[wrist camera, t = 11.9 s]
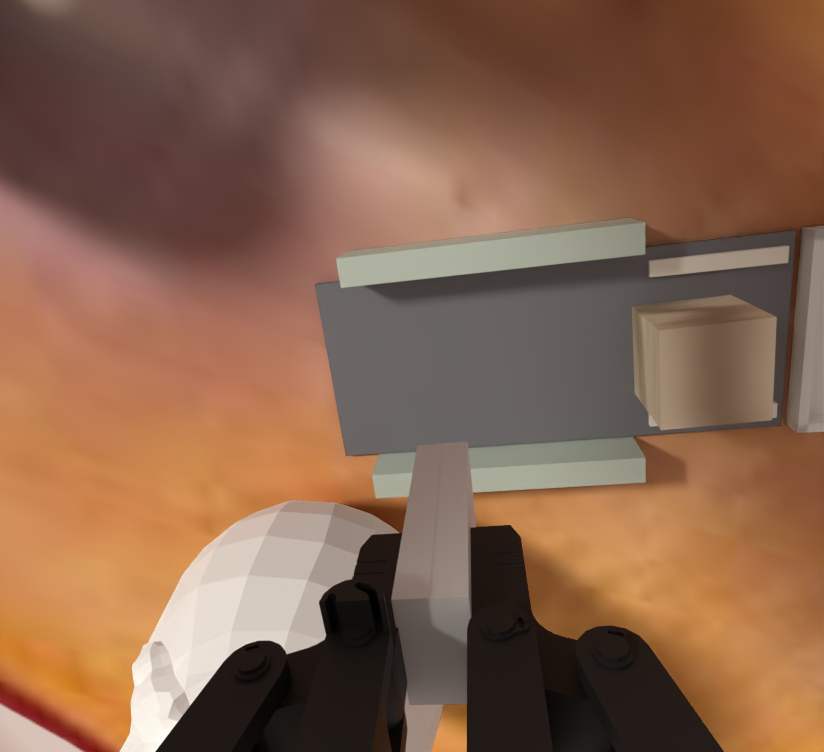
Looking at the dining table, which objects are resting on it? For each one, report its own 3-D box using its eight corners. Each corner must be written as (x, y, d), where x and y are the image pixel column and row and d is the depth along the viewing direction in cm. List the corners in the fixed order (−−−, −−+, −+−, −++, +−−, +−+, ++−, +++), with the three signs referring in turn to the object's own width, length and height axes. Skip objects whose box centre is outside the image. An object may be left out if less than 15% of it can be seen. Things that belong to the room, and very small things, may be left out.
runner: (347, 453, 44) (344, 458, 43) (316, 283, 40) (313, 285, 39) (777, 423, 40) (783, 428, 39) (792, 230, 36) (799, 231, 35)
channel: (383, 473, 44) (376, 498, 41) (347, 251, 39) (336, 258, 36) (632, 457, 42) (645, 482, 38) (630, 217, 36) (645, 222, 33)
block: (634, 393, 40) (661, 430, 34) (631, 306, 38) (659, 330, 32) (729, 384, 39) (772, 420, 33) (730, 294, 37) (776, 317, 31)
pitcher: (316, 405, 43) (122, 690, 19) (503, 555, 45) (532, 967, 22) (184, 559, 49) (-89, 921, 25) (356, 684, 51) (254, 1118, 28)
